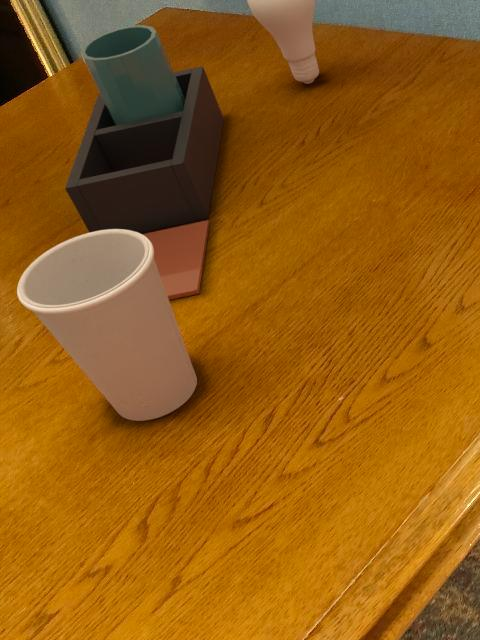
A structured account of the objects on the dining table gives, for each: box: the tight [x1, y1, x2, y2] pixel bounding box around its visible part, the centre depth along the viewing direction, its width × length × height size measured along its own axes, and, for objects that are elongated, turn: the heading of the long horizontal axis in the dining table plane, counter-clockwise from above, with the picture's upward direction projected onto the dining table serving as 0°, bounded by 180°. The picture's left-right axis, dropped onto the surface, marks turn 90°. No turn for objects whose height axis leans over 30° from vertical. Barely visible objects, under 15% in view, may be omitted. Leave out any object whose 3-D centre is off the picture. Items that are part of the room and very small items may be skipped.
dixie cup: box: [16, 229, 198, 422], centre depth 64 cm, size 8×8×10 cm
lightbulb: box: [246, 0, 320, 85], centre depth 93 cm, size 6×6×11 cm
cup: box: [80, 24, 185, 126], centre depth 88 cm, size 6×6×10 cm
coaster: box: [141, 219, 211, 301], centre depth 78 cm, size 10×10×1 cm
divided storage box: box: [64, 65, 225, 234], centre depth 87 cm, size 10×18×5 cm, turn 8°
